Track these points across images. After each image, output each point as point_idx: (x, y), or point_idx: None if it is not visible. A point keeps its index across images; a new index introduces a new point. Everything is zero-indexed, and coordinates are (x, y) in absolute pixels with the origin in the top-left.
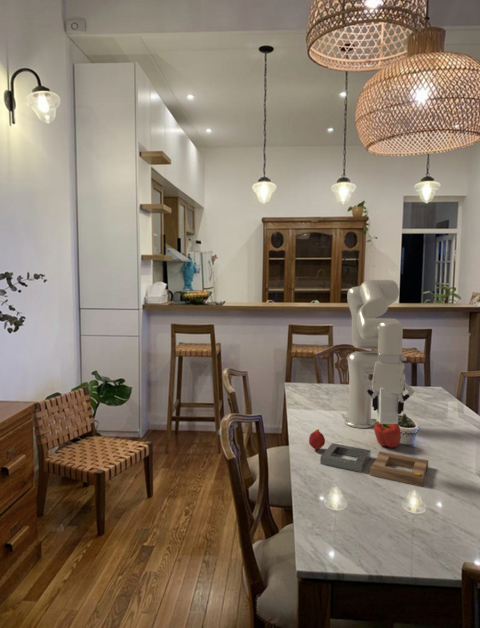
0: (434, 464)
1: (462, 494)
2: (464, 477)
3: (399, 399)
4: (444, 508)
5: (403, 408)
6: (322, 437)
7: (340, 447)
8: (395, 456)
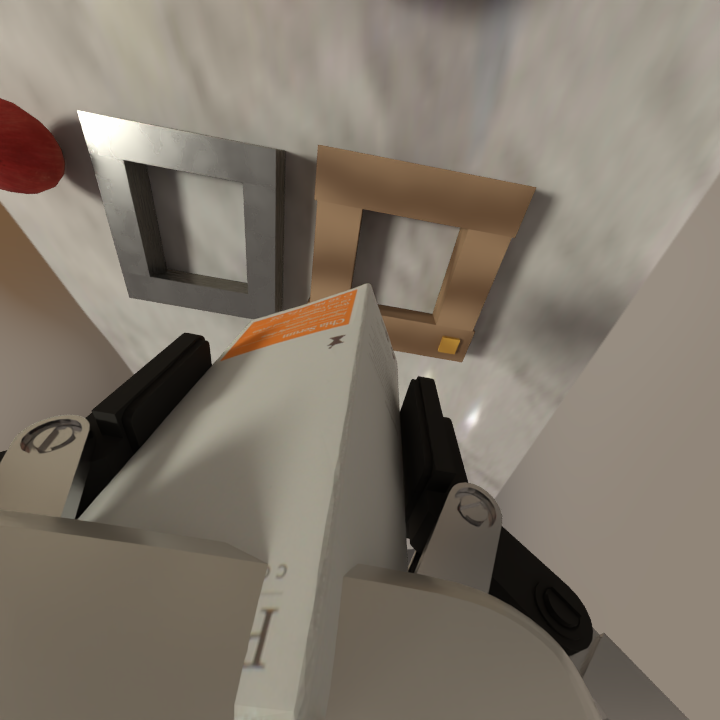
0: (567, 133)
1: (556, 364)
2: (635, 242)
3: (410, 570)
4: (479, 430)
5: (450, 434)
6: (20, 164)
7: (140, 162)
8: (390, 193)
